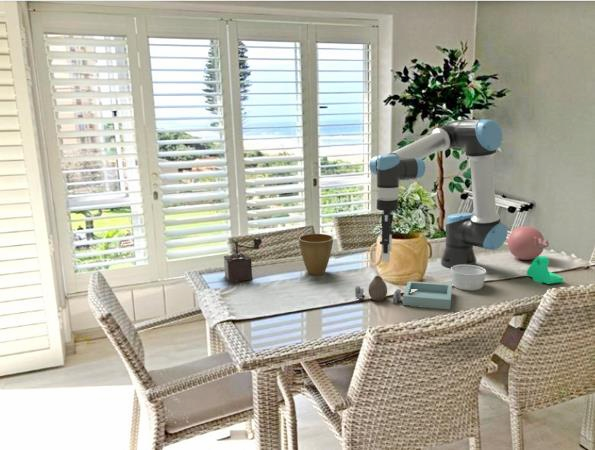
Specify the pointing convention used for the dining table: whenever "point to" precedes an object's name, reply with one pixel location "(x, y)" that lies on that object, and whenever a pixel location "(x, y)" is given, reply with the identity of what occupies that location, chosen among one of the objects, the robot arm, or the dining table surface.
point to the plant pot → (316, 252)
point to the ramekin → (468, 277)
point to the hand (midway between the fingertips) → (386, 256)
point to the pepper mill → (239, 263)
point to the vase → (377, 289)
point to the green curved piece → (542, 271)
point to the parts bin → (428, 295)
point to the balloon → (526, 243)
